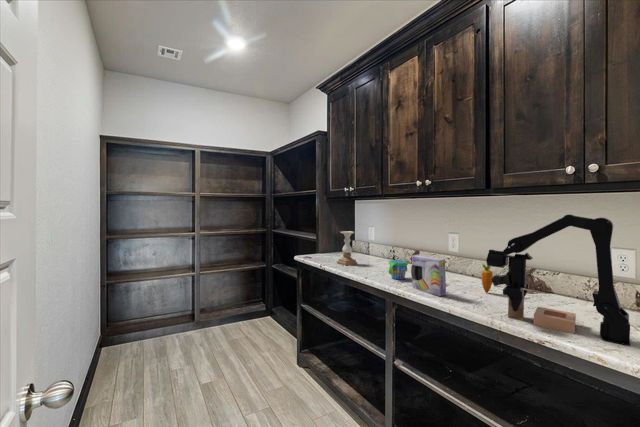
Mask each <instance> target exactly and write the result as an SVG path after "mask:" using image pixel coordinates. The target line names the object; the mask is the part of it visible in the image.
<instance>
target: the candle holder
mask: <svg viewBox="0 0 640 427" xmlns="http://www.w3.org/2000/svg"><path fill="white" fill-rule="evenodd" d="M339 232H340V233H341V234H343V236H344V239H343V241H344V245H343V247H342V252H343V254H342V256H343V257H341V258H338V260H337V261H336V264H337V263H338V264H337V265H340V264H342V265H341V266H344V265H345V267H347V265H350V266H356V265H355V264H357V265H358V261H357V260H356V259H355V258H352V251H353V248H352V246H351V245H350V243H351V241H352V240H351V238H350V237H351V236H352V235H353V234H355V231H352V230H349V231H348V230H343V231H342V230H341V231H339Z"/></svg>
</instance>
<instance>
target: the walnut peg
mask: <svg viewBox="0 0 640 427" xmlns="http://www.w3.org/2000/svg"><path fill="white" fill-rule="evenodd" d="M507 300H508V302H507V303H508V304H507V306H508V307H507V318H509V319H513V320H517V321H523V319H524V316H525V315H524V314H525V313H524V310H525V297H523V299H522V301H521V303H520V306H519V308H518V310H517V311H513V308H512V304H511V300H510V298H509V297H508V299H507Z"/></svg>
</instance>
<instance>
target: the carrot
mask: <svg viewBox="0 0 640 427" xmlns="http://www.w3.org/2000/svg"><path fill="white" fill-rule="evenodd" d="M482 267H483V270H481V284H482V288H483V290H484V292H485V293H486V294H488V293H489V291H490V290H491V287H492V285H493V283H492V279H491V278H492V277H493V276H494V274H493V271H491V270H490V269H491V268H492V266H488V265H487V264H484V263H482Z"/></svg>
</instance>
